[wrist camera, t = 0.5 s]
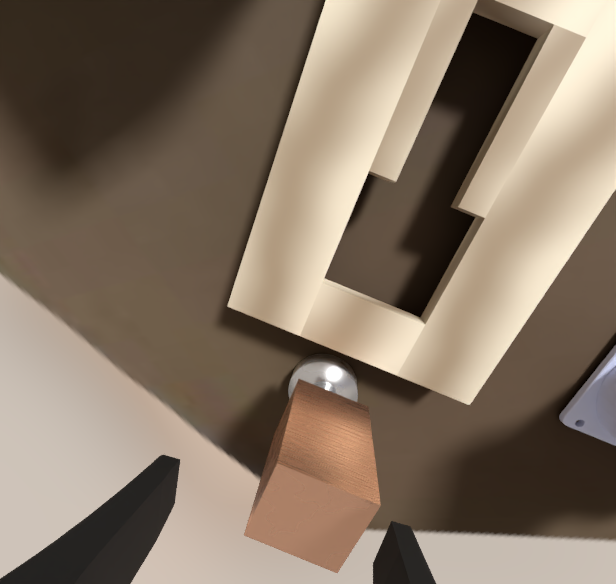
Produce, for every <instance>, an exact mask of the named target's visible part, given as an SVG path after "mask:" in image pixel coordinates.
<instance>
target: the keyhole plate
mask: <svg viewBox="0 0 616 584" xmlns="http://www.w3.org/2000/svg"><path fill="white" fill-rule="evenodd" d="M472 12H473V13H476V14H478V15H481V16H483V17H486V18H488V19H491V20H493V21H496V22H498V23H500V24H503V25H505V26H508V27H510V28H513V29H515V30H518V31H520V32H523V33H525V34H527V35H530V36H532V37H535V38H537V41H536V43H535V45H534V47H533V49H532V51H531V53H530V55H529V56H528V58H527V60H526V62H525V64H524V66H523V68H522V70H521V72H520V74H519V76H518V78H517V80H516V82H515V83H514V85H513V87H512V89H511V91H510V93H509V95H508V97H507V99H506V101H505V103H504V105H503V107H502V109H501V110H500V112H499V114H498V116H497V118H496V120H495V122H494V124H493V126H492V128H491V130H490V132H489V134H488V136H487V138H486V139H485V141H484V143H483V145H482V147H481V149H480V151H479V153H478V155H477V157H476V159H475V161H474V163H473V165H472V166H471V168H470V170H469V172H468V174H467V176H466V178H465V180H464V182H463V184H462V186H461V188H460V190H459V192H458V193H457V195H456V197H455V199H454V201H453V203H452V205H451V207H452V208H454V209H457V210H459V211H462V212H464V213H466V214H469V215H471V216H474V217H475V219H474V221H473V223H472V225H471V227H470V228H469V230H468V232H467V234H466V236H465V237H464V239H463V241H462V243H461V245H460V247H459V248H458V250H457V252H456V254H455V256H454V257H453V259H452V261H451V263H450V265H449V267H448V268H447V270H446V272H445V274H444V276H443V277H442V279H441V281H440V283H439V285H438V287H437V288H436V290H435V292H434V294H433V296H432V297H431V299H430V301H429V303H428V305H427V307H426V308H425V310H424V312H423V314H422V316H421V317H418V316H415V315H413V314H411V313H408V312H406V311H403V310H401V309H398V308H396V307H393V306H391V305H388V304H386V303H384V302H381V301H379V300H376V299H374V298H371V297H369V296H366V295H364V294H361V293H359V292H357V291H354V290H352V289H349V288H347V287H344V286H342V285H339V284H337V283H334V282H332V281H330V280H327V279H325V278H324V277H325V275H326V273H327V270H328V268H329V265H330V263H331V261H332V258H333V256H334V253H335V251H336V249H337V246H338V244H339V242H340V239H341V237H342V234H343V232H344V230H345V227H346V225H347V222H348V220H349V218H350V215H351V213H352V211H353V208H354V206H355V203H356V201H357V199H358V196H359V194H360V191H361V189H362V187H363V184H364V182H365V180H366V177H367V175H368V174H371V175H373V176H376V177H378V178H381V179H383V180H385V181H388V182H390V183H394V182H396V181H397V179H398V176H399V174H400V172H401V170H402V167H403V165H404V163H405V161H406V159H407V156H408V154H409V152H410V150H411V147H412V145H413V143H414V141H415V139H416V136H417V134H418V132H419V130H420V128H421V125H422V123H423V121H424V119H425V116H426V114H427V112H428V110H429V108H430V105H431V103H432V101H433V99H434V96H435V94H436V92H437V90H438V88H439V85H440V83H441V81H442V79H443V76H444V74H445V72H446V70H447V68H448V65H449V63H450V61H451V59H452V57H453V54H454V52H455V50H456V48H457V45H458V43H459V41H460V39H461V37H462V34H463V32H464V30H465V28H466V25H467V23H468V21H469V19H470V17H471V14H472ZM615 189H616V0H326V1H325V4H324V7H323V10H322V13H321V16H320V20H319V23H318V26H317V29H316V32H315V35H314V38H313V41H312V44H311V48H310V51H309V54H308V57H307V60H306V63H305V66H304V69H303V72H302V76H301V79H300V82H299V85H298V88H297V91H296V94H295V97H294V100H293V104H292V107H291V110H290V113H289V116H288V119H287V122H286V125H285V128H284V131H283V135H282V138H281V141H280V144H279V147H278V150H277V153H276V156H275V159H274V163H273V166H272V169H271V172H270V175H269V178H268V181H267V184H266V187H265V191H264V194H263V197H262V200H261V203H260V206H259V209H258V212H257V215H256V219H255V222H254V225H253V228H252V231H251V234H250V237H249V240H248V243H247V247H246V250H245V253H244V256H243V259H242V262H241V265H240V268H239V271H238V274H237V278H236V281H235V284H234V287H233V290H232V293H231V296H230V299H229V302H228V306H227V307H230V308H232V309H235V310H237V311H240V312H242V313H245V314H247V315H249V316H252V317H254V318H257V319H259V320H262V321H264V322H267V323H269V324H272V325H274V326H276V327H279V328H281V329H284V330H286V331H289V332H291V333H294V334H296V335H299V336H301V337H303V338H306V339H308V340H311V341H313V342H316V343H318V344H321V345H323V346H326V347H328V348H330V349H333V350H335V351H338V352H340V353H343V354H345V355H348V356H350V357H352V358H355V359H357V360H360V361H362V362H365V363H367V364H370V365H372V366H375V367H377V368H379V369H382V370H384V371H387V372H389V373H392V374H394V375H397V376H399V377H402V378H404V379H406V380H409V381H411V382H414V383H416V384H419V385H421V386H424V387H426V388H429V389H431V390H433V391H436V392H438V393H441V394H443V395H446V396H448V397H451V398H453V399H455V400H458V401H460V402H463V403H465V404H468V405H470V404H471V402H472V401H473V399H474V398H475V396H476V395H477V393H478V392H479V390H480V389H481V387H482V386H483V385H484V383H485V382H486V380H487V379H488V377H489V376H490V374H491V373H492V371H493V370H494V368H495V367H496V365H497V364H498V362H499V361H500V359H501V358H502V356H503V355H504V353H505V352H506V350H507V349H508V348H509V346H510V345H511V343H512V342H513V340H514V339H515V337H516V336H517V334H518V333H519V331H520V330H521V328H522V327H523V325H524V324H525V322H526V321H527V319H528V318H529V316H530V315H531V313H532V312H533V311H534V309H535V308H536V306H537V305H538V303H539V302H540V300H541V299H542V297H543V296H544V294H545V293H546V291H547V290H548V288H549V287H550V285H551V284H552V282H553V281H554V279H555V278H556V276H557V275H558V273H559V272H560V271H561V269H562V268H563V266H564V265H565V263H566V262H567V260H568V259H569V257H570V256H571V254H572V253H573V251H574V250H575V248H576V247H577V245H578V244H579V242H580V241H581V239H582V238H583V236H584V235H585V234H586V232H587V231H588V229H589V228H590V226H591V225H592V223H593V222H594V220H595V219H596V217H597V216H598V214H599V213H600V211H601V210H602V208H603V207H604V205H605V204H606V202H607V201H608V199H609V198H610V197H611V195H612V194H613V192H614V191H615Z"/></svg>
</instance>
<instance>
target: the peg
mask: <svg viewBox="0 0 616 584" xmlns="http://www.w3.org/2000/svg"><path fill="white" fill-rule="evenodd" d="M288 394H289V399H290V400H289V402H288V404H287V407H286V409H285V411H284V413H283V416H282V418H281V420H280V422H279V425H278V427H277V429H276V432H275V434H274V437H273V440H272V444H271V447H270V450H269V454H268V457H267V460H266V464H265V467H264V470H263V474H262V477H261V480H260V483H259V487H258V490H257V493H256V497H255V500H254V504H253V507H252V511H251V514H250V517H249V520H248V524H247V527H246V530H245V533H244V535H245V536H247V537H249V538H252V539H254V540H257V541H260V542H262V543H264V544H267V545H269V546H272V547H274V548H277V549H279V550H281V551H284V552H287V553H289V554H291V555H294V556H296V557H299V558H301V559H303V560H306V561H309V562H311V563H313V564H316V565H318V566H321V567H323V568H326V569H328V570H330V571H333V572H335V573H338V571H339V570H340V568H341V566H342V565H343V563H344V562H345V560H346V559H347V557H348V556H349V554H350V552H351V551H352V549H353V548H354V546H355V545H356V543H357V542H358V540H359V539H360V537H361V535H362V534H363V532H364V531H365V529H366V528H367V526H368V525H369V523H370V521H371V520H372V518H373V517H374V515H375V514H376V512H377V511H378V509H379V507H380V506H381V504H380V496H379V488H378V480H377V472H376V464H375V456H374V448H373V440H372V432H371V424H370V416H369V408H368V406H365V405H363V404H360V403H358V402H357V398H358V391H357V380H356V376H355V373H354V371H353V369H352V368H351V367H350V365H349V364H348V363H347V362H345V361H344V360H343V359H341V358H339V357H337V356H334V355H331V354H324V353H323V354H314V355H310V356H308V357H306V358H304V359H303V360H301V361H300V362H299V363H298V364H297V366H296V367H295V369H294V371H293V373H292V377H291V380H290V383H289V388H288Z"/></svg>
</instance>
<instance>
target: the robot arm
mask: <svg viewBox="0 0 616 584" xmlns="http://www.w3.org/2000/svg"><path fill="white" fill-rule="evenodd" d="M559 419H560V421H561V422H562V423H563V424H564V425H566V426H568V427H570V428H573V429H575V430H578V431H580V432H583V433H585V434H588V435H590V436H593V437H595V438H597V439H600V440H602V441H605V442H607V443H610V444H612V445H615V446H616V345H615V346H614V348H613V349H612V350H611V351H610V353H609V354H608V355H607V356H606V358H605V359H604V360H603V361H602V363H601V364H600V365H599V366H598V367H597V369H596V370H595V371H594V372H593V374H592V375H591V376H590V377H589V379H588V380H587V381H586V382H585V384H584V385H583V386H582V387H581V389H580V390H579V391H578V392H577V394H576V395H575V396H574V397H573V399H572V400H571V401H570V402H569V404H568V405H567V406H566V407H565V409H564V410H563V411H562V412H561V414H560V416H559ZM578 420H579V421H578ZM576 421H578V422H576ZM179 465H180V459H176V458H173V457H169V456H166V455H161V456H159V457H158V458H157V459H156V460H155V461H154V462H153V463H152V464H151V465H150V466H148V467H147V468H146V469H145V470H144V471H143V472H141V473H140V474H139V475H138V476H137V477H136V478H134V479H133V480H132V481H131V482H130V483H129V484H127V485H126V486H125V487H124V488H123V489H121V490H120V491H119V492H118V493H117V494H115V495H114V496H113V497H112V498H110V499H109V500H108V501H107V502H105V503H104V504H103V505H102V506H101V507H99V508H98V509H97V510H96V511H94V512H93V513H92V514H91V515H89V516H88V517H87V518H85V519H84V520H83V521H81V522H80V523H79V524H77V525H76V526H75V527H73V528H72V529H70V530H69V531H68V532H66V533H65V534H64V535H63V536H61V537H60V538H58V539H57V540H56V541H54V542H53V543H52V544H50V545H49V546H47V547H46V548H45V549H43V550H42V551H40V552H39V553H38V554H36V555H35V556H33V557H32V558H31V559H29V560H28V561H26V562H25V563H23V564H22V565H20V566H19V567H17V568H16V569H14V570H13V571H11V572H10V573H8V574H7V575H5V576H4V577H2V578H1V579H0V584H130V583H131V582H132V580H133V578H134V577H135V575H136V573H137V572H138V570H139V568H140V567H141V565H142V563H143V562H144V560H145V559H146V557H147V555H148V553H149V552H150V550H151V549H152V547H153V545H154V544H155V542H156V540H157V538H158V536H159V534H160V532H161V530H162V528H163V526H164V524H165V522H166V520H167V518H168V516H169V514H170V512H171V510H172V508H173V506H174V503H175V496H176V488H177V481H178V473H179ZM373 584H436V583H435V580H434V578H433V576H432V574H431V571H430V569H429V567H428V565H427V562H426V560H425V558H424V556H423V553H422V551H421V549H420V547H419V544H418V542H417V540H416V538H415V535H414V533H413V531H412V529H411V527H410V526H407V525H403V524H400V523H396V522H393V521H391V523H390V526H389V528H388V530H387V533H386V535H385V537H384V540H383V542H382V544H381V546H380V549H379V551H378V553H377V556H376V558H375V560H374V562H373Z"/></svg>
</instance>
